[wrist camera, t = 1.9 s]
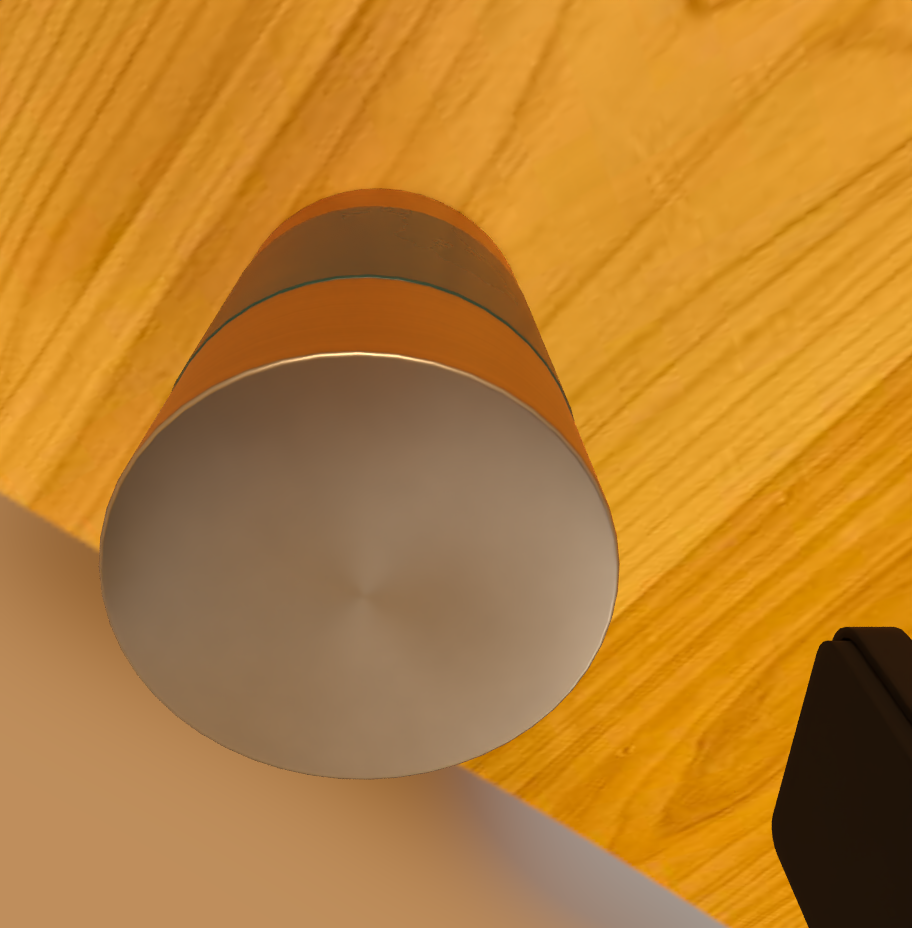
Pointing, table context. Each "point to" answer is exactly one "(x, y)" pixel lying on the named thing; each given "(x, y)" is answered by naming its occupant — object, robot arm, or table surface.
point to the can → (363, 506)
